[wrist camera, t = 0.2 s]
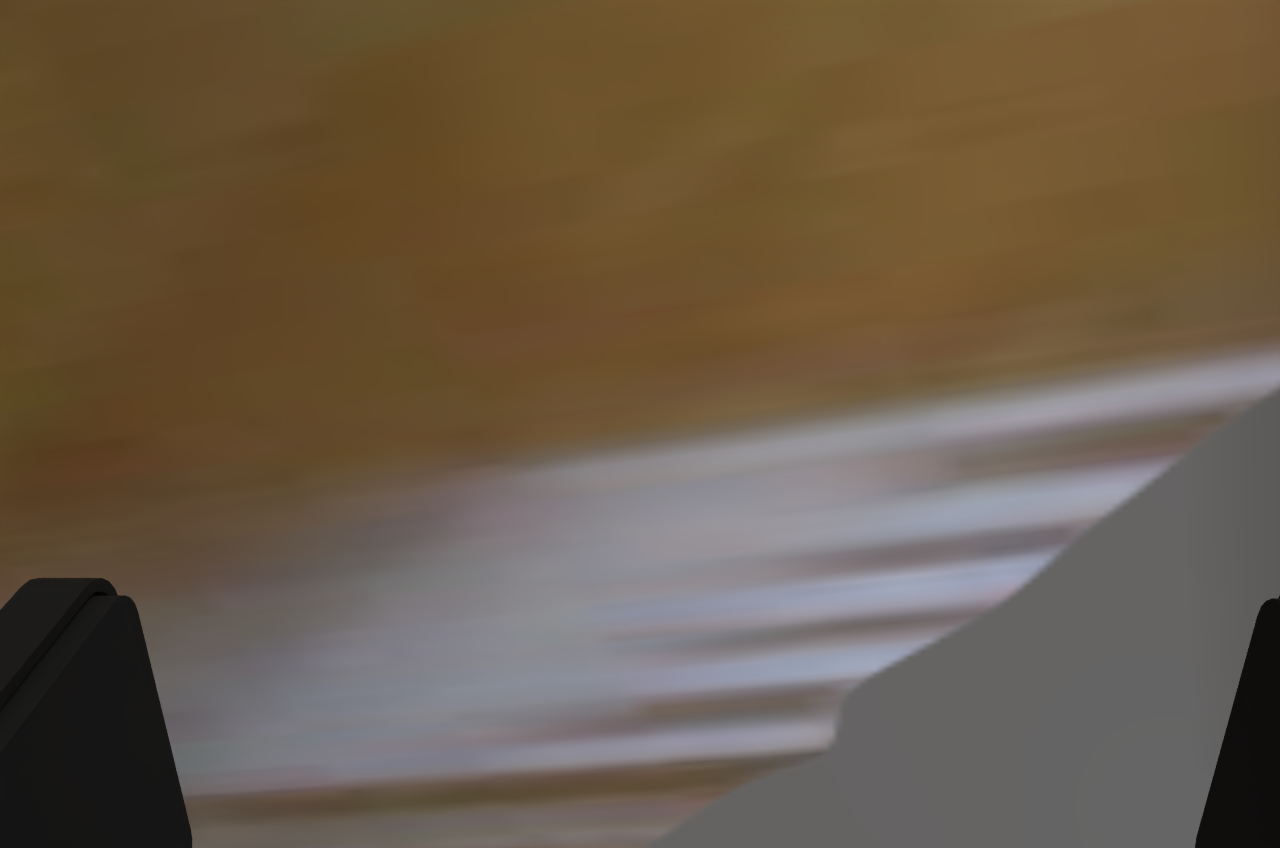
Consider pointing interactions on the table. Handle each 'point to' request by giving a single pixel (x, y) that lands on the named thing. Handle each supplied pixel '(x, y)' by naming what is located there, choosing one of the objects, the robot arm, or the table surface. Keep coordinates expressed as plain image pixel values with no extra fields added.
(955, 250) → the table surface
